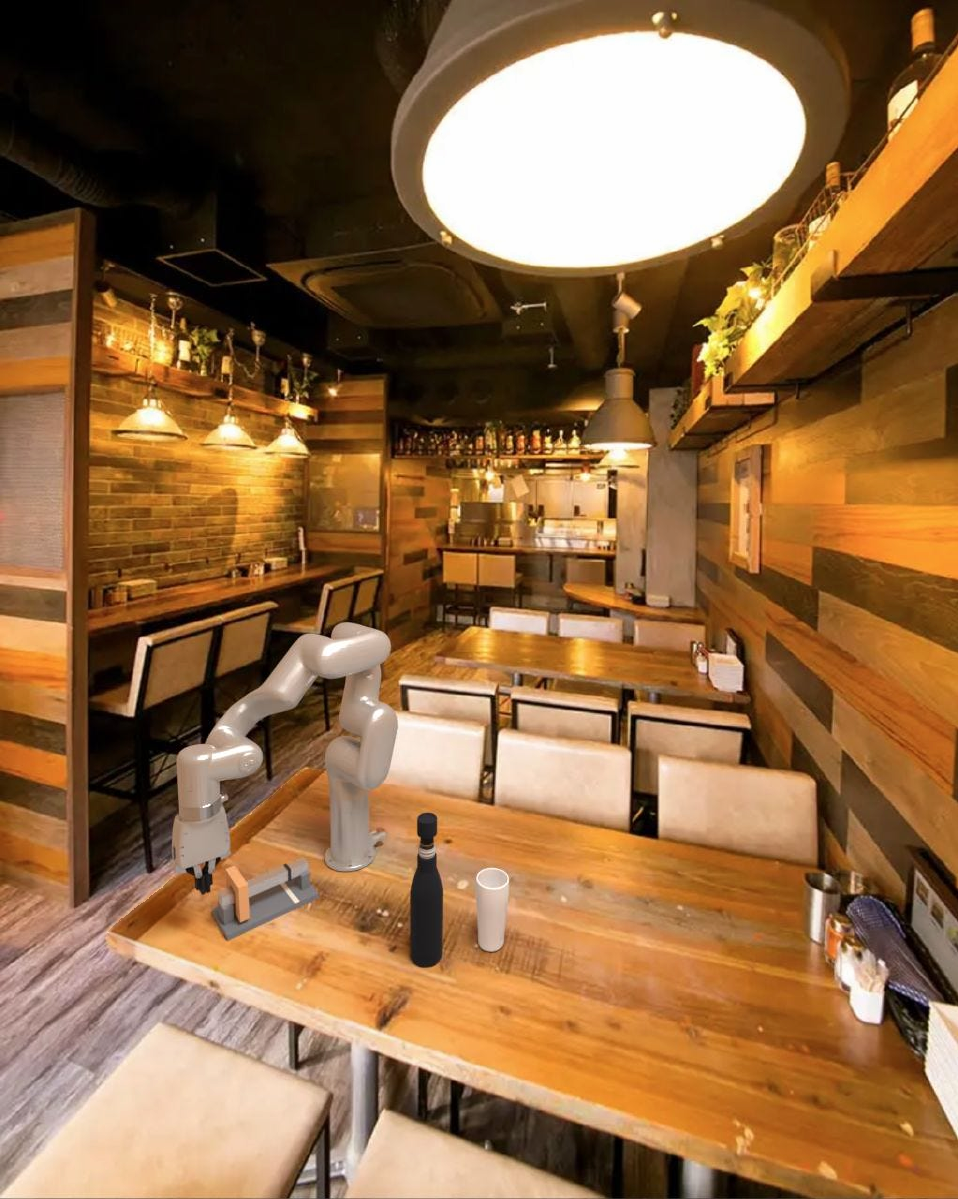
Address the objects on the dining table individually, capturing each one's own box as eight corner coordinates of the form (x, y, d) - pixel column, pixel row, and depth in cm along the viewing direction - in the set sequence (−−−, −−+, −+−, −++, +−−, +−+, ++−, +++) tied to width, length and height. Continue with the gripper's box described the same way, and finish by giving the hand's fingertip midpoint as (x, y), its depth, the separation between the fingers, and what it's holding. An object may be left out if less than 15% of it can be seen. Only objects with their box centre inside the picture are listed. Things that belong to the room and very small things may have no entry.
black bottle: (437, 970, 111) (438, 829, 106) (405, 964, 113) (405, 824, 107) (445, 945, 117) (447, 811, 112) (415, 940, 119) (416, 807, 113)
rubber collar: (236, 898, 127) (234, 865, 126) (249, 918, 121) (248, 884, 120) (227, 902, 126) (225, 869, 124) (240, 922, 120) (238, 888, 118)
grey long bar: (303, 866, 134) (303, 856, 134) (308, 872, 132) (308, 861, 132) (218, 902, 122) (217, 891, 121) (222, 909, 120) (222, 898, 119)
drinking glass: (511, 936, 120) (513, 871, 118) (501, 960, 114) (503, 892, 111) (480, 927, 123) (482, 864, 120) (469, 950, 116) (471, 884, 114)
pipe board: (299, 875, 138) (299, 857, 137) (318, 897, 131) (318, 879, 130) (212, 913, 125) (210, 894, 124) (227, 940, 117) (226, 920, 117)
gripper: (232, 788, 122) (235, 867, 125) (153, 811, 113) (158, 895, 116) (245, 803, 117) (247, 884, 120) (163, 828, 107) (168, 916, 110)
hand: (204, 890), depth 118 cm, fingers closed
